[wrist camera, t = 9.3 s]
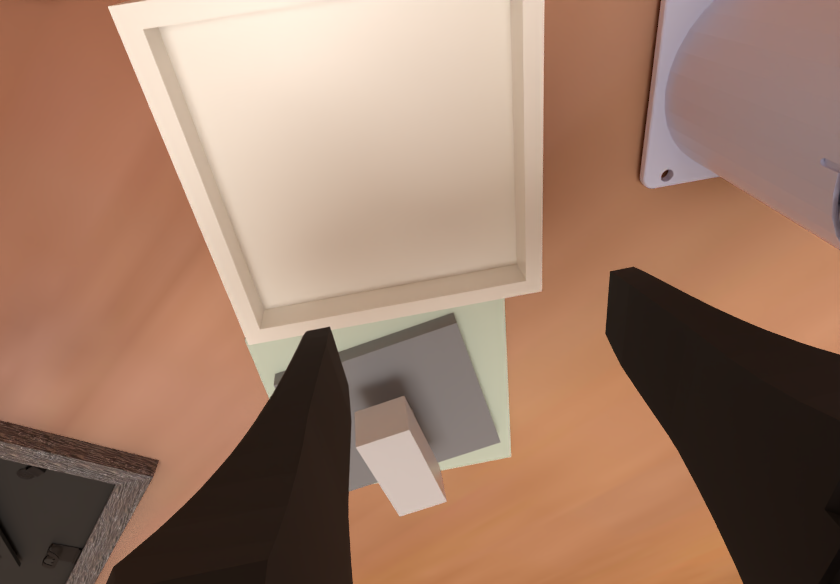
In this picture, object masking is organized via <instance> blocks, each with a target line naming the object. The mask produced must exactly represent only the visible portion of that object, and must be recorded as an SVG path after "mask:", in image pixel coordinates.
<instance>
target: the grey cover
mask: <svg viewBox="0 0 840 584" xmlns="http://www.w3.org/2000/svg"><path fill="white" fill-rule="evenodd" d="M338 353H339V356H340V359H341V363H342V366H343V369H344V372H345V375H346V378H347V382H348V385H349V396H350V408H351V448H350V472H349V491H352V490H355V489H358V488H361V487H364V486H367V485H371V484H374V483H377V482H378V483H379V485H380V486H381V488H382V489H383V491H384V492H385V494H386V496H387V497H388V499H389V500H390V502H391V503H392V505H393V507H394V508H395V510H396V511H397V513H398V514H399V516H403V515H406V514H409V513H413V512H416V511H419V510H422V509H425V508H428V507H431V506H435V505H438V504H441V503H444V502H447V500H446V495H445V490H444V485H443V480H442V475H441V470H440V466H439V464H438V462H441V461H445V460H448V459H451V458H454V457H457V456H460V455H463V454H466V453H469V452H472V451H475V450H479V449H482V448H485V447H488V446H491V445H494V444H497V443H500V439H499V436H498V433H497V430H496V427H495V424H494V422H493V419H492V416H491V413H490V411H489V408H488V405H487V403H486V400H485V397H484V394H483V392H482V389H481V386H480V384H479V381H478V378H477V375H476V373H475V370H474V367H473V365H472V362H471V359H470V356H469V354H468V351H467V348H466V346H465V343H464V340H463V337H462V335H461V332H460V329H459V327H458V324H457V321H456V318H455V316H454V313H450V314H447V315H445V316H442V317H439V318H436V319H433V320H430V321H427V322H424V323H421V324H418V325H416V326H413V327H410V328H407V329H404V330H401V331H398V332H395V333H392V334H389V335H387V336H384V337H381V338H378V339H375V340H372V341H369V342H366V343H363V344H360V345H358V346H355V347H352V348H349V349H346V350H343V351H340V352H338ZM285 371H286V370H285ZM285 371H282V372H279V373H276V374H275V378H274V385H273V386H274V387H275V389H276V387H277V385H278V383H279V381H280V380H281V378H282V376H283V374H284V372H285Z"/></svg>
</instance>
